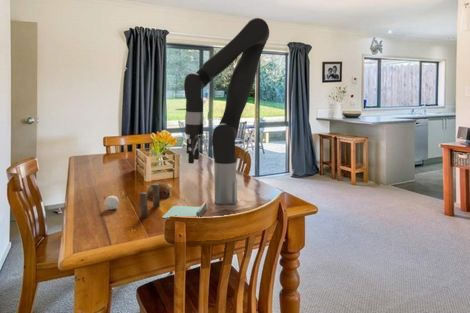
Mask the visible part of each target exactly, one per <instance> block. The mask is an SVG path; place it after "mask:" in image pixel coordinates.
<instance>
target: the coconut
mask: <svg viewBox="0 0 470 313" xmlns="http://www.w3.org/2000/svg"><path fill="white" fill-rule="evenodd" d="M153 184H159V200H160V199H165V198H169V197H170V196H171V193H172V191H171V189H170V187H169V186H168V185H167V184H166V183H164V182H160V181H157V182H155V183H153ZM153 184H150V185H149V187H148V189H147V192H146V193H147V198H149V197H150V199H153V190H152V185H153Z"/></svg>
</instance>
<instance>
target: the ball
mask: <svg viewBox="0 0 470 313" xmlns="http://www.w3.org/2000/svg"><path fill="white" fill-rule="evenodd" d="M119 205H120V200H119V198H118V197H117V196H116V195H109V196H107V197H106V198H105V199H104V206H105V208H106V209H107V210H110V211H112V210H115V209H117V208H118V207H119Z"/></svg>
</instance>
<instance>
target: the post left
mask: <svg viewBox="0 0 470 313" xmlns="http://www.w3.org/2000/svg"><path fill="white" fill-rule="evenodd" d="M139 206H140V208H139V209H140V210H139V211H140V217H141V218H143V219H146V218H148V217H149V215H148V212H149V211H148V210H149V209H148V195H147V192H144V191H143V192H139Z"/></svg>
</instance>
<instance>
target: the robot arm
mask: <svg viewBox="0 0 470 313" xmlns="http://www.w3.org/2000/svg"><path fill="white" fill-rule="evenodd" d="M269 37H270V29H269V25H268V23H267V22H266V20H264V19H263V18H259V17H254V18H252V19H250V20H249V21H248V22H247V23H246V25H244V26H243V27H242V29H241V30H240V31H239V32H238V33H237V34H236V36H235V37H233V39H231V40H230V41H229V42H228V43H227V44H225V46H223V47H222V48H220V50H218V51H217V52H216V53H215V54H214V55H213V56H211V57H210V58H209V59H207V60H206V61H205V62H204V63H203V64H202V66H201V68H199V69H198V70H197V71H196V72H190V73H188V74H187V75H186V76H185V78H184V83H183V86H184V88H183V90H184V96H185V115H184V116H185V117H184V121H185V122H184V134H185V135H188V136H189V138H187V139H186V154H187V155H188V156H187V157H188V159H187V160H188V161H187V162H188V164H194V163H195V160H196V161H198V160H200V151H201V149H202V136H201V135H203V134H204V100H203V98H202V90H203V89H204V88H205V87H207V86H208V85H209V84H210V82H211V81H212V80H213V79H215V78H216V77H218V76H219V75H220V74H221V73H223V72H224V71H225V70H226V69H227V68H228V67H230V65H231V64H232V63H234V61H235V60H236V59H237V58H238V57H239V56H240V55H241V56H240V58H239V59H238V62H237V64H236V66H235V68H234V70H233V72H232V75H231V77H230V81H229V83H228V86H227V87H228V88H227V93H226V98H225V99H226V100H225V107H224V111H223V115H222V117H221V120H220V122H219V124H218V125H217V126H215V128H214V129H213V131H212V137H211V138H212V140H211V141H212V156H213V164H214V166H213V169H214V170H213V172H214V173H213V174H214V175H213V176H214V177H213V178H214V183H213V184H214V186H213V187H214V203H216V204H217V205H225V206H226V205H227V206H228V205H235V204H237V201H238V178H237V155H236V140H237V137H238V134H239V133H238V132H239V127H240V122H241V117H242V115H243V112H244V110H245V107H246V105H247V103H248V100H249V97H250V94H251V92H252V89H253V86H254V82H255V79H256V74H257V72H258V68H259V62H260V58H261V57H262V56H261V55H262V53H263V51H264V48H265V46H266V44H267V42H268V39H269Z"/></svg>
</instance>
